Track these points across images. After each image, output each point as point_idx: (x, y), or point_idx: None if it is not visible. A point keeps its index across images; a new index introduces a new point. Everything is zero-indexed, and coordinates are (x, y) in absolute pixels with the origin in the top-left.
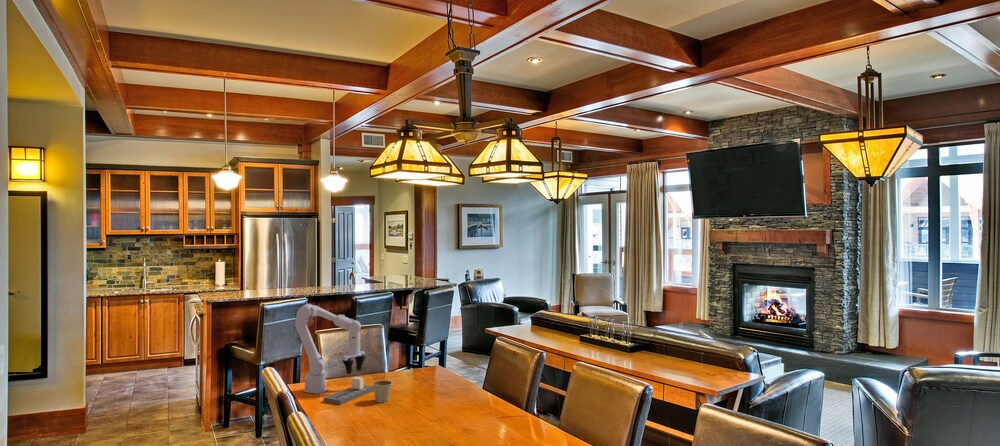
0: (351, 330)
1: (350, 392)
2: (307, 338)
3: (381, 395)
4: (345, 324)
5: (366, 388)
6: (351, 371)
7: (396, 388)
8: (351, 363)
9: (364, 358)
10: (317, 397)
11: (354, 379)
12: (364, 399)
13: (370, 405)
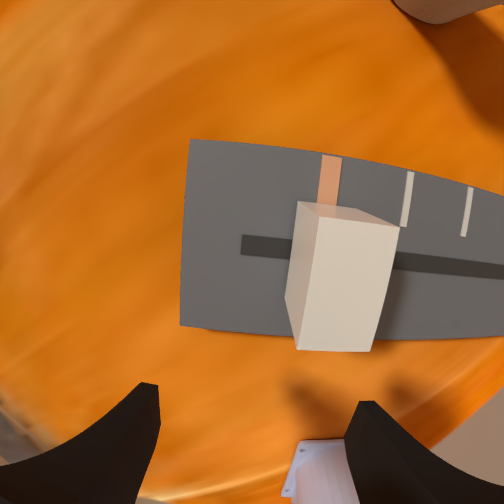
0: None
1: (429, 249)
2: None
3: None
4: None
5: (280, 175)
6: (372, 416)
7: (96, 25)
8: (473, 490)
9: (14, 478)
10: (437, 402)
11: (376, 307)
12: (439, 106)
13: (498, 39)
